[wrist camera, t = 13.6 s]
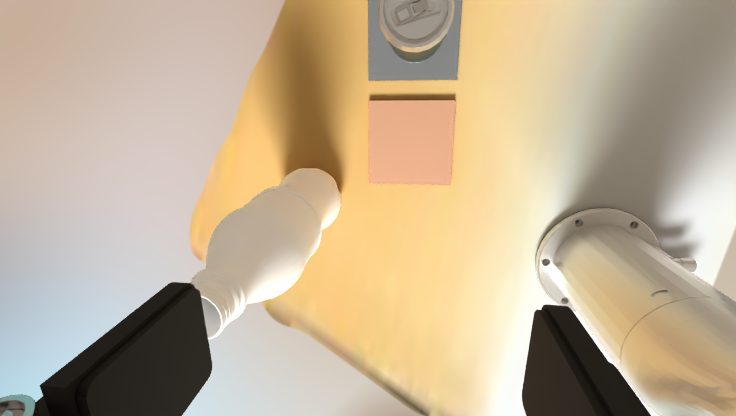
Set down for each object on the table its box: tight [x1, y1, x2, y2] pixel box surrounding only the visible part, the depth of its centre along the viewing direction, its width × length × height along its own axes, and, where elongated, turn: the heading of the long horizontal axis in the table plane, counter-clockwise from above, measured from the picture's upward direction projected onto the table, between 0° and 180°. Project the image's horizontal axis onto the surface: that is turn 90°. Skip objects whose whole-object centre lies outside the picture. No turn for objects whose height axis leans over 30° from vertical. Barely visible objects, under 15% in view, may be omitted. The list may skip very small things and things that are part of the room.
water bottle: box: [191, 168, 341, 339], centre depth 32 cm, size 7×7×25 cm
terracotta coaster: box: [369, 100, 456, 185], centre depth 40 cm, size 9×9×1 cm
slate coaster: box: [368, 0, 462, 81], centre depth 37 cm, size 9×9×1 cm
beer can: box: [378, 0, 455, 62], centre depth 31 cm, size 5×5×12 cm
